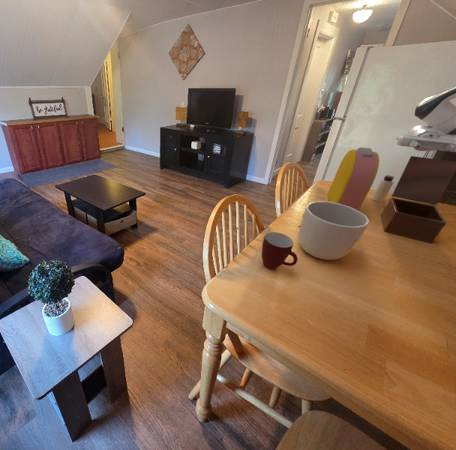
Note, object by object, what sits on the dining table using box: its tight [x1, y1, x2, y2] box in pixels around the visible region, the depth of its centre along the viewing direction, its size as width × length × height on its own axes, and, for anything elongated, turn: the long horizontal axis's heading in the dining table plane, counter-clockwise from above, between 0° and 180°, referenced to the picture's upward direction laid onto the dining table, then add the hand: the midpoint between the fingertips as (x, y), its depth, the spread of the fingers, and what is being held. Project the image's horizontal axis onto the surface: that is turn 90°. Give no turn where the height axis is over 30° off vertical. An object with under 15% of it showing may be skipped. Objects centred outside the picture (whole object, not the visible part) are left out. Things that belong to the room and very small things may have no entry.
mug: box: [261, 231, 299, 270], centre depth 75 cm, size 11×8×10 cm
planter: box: [298, 200, 370, 261], centre depth 81 cm, size 17×17×15 cm
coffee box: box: [380, 196, 447, 244], centre depth 96 cm, size 16×14×9 cm
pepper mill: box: [370, 174, 395, 203], centre depth 117 cm, size 5×5×12 cm
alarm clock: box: [327, 146, 380, 211], centre depth 108 cm, size 21×9×26 cm, turn 154°
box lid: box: [391, 155, 456, 206], centre depth 96 cm, size 16×14×1 cm
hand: (433, 147), depth 98 cm, fingers open, 8 cm apart
